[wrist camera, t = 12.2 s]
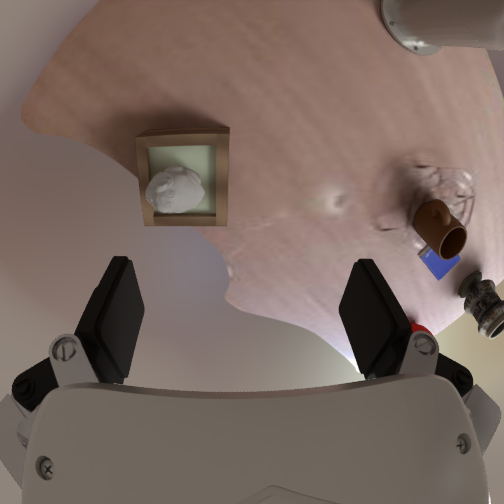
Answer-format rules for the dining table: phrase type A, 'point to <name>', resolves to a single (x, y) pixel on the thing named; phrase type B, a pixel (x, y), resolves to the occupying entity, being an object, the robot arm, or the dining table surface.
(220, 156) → the pedestal
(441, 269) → the hard drive
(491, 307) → the apothecary jar
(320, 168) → the dining table surface
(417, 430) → the robot arm
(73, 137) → the dining table surface
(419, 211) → the mug
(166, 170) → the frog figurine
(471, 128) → the dining table surface
